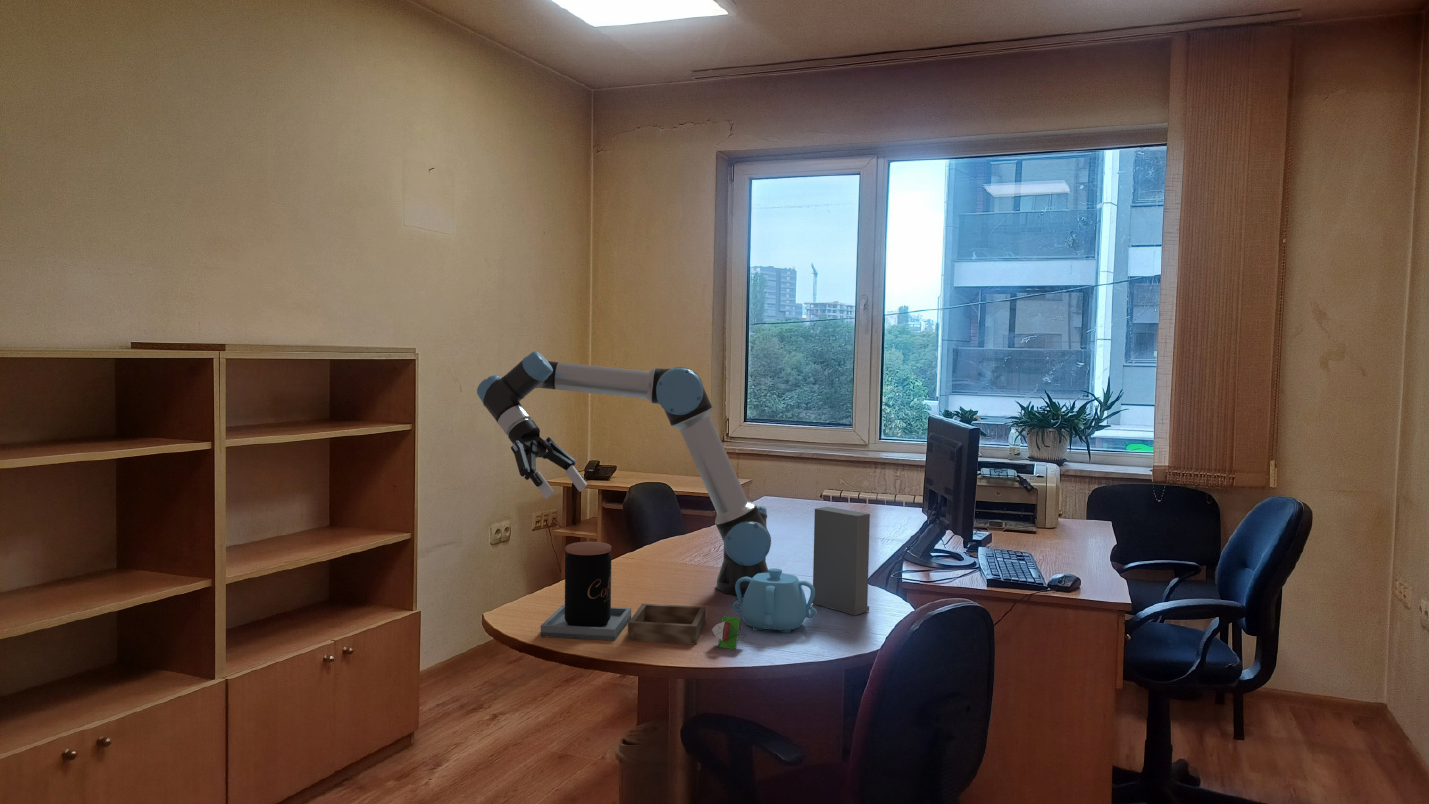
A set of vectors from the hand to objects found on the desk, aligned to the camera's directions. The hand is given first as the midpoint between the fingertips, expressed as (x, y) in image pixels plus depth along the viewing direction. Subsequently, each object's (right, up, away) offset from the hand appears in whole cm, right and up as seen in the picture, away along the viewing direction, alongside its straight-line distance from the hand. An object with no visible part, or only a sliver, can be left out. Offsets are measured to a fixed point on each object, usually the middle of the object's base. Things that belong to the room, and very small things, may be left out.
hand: (567, 491), depth 213 cm
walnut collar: (+26, -31, -14) cm, 42 cm away
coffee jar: (+7, -30, -12) cm, 33 cm away
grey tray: (+7, -30, -12) cm, 33 cm away
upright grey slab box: (+69, -31, +8) cm, 76 cm away
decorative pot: (+50, -31, -8) cm, 60 cm away
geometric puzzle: (+39, -32, -24) cm, 56 cm away
